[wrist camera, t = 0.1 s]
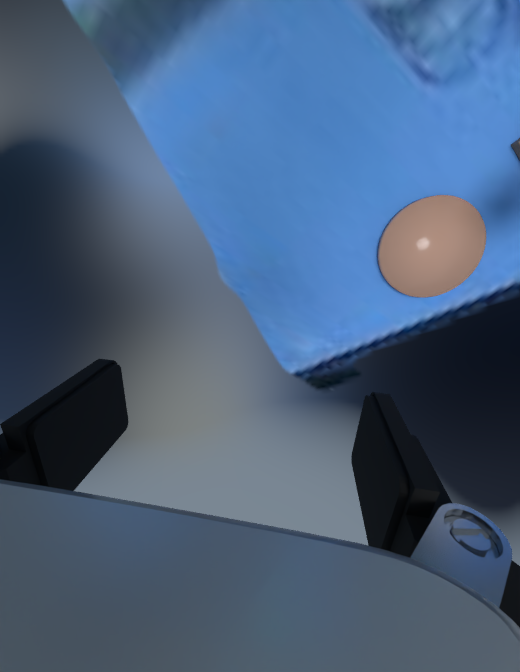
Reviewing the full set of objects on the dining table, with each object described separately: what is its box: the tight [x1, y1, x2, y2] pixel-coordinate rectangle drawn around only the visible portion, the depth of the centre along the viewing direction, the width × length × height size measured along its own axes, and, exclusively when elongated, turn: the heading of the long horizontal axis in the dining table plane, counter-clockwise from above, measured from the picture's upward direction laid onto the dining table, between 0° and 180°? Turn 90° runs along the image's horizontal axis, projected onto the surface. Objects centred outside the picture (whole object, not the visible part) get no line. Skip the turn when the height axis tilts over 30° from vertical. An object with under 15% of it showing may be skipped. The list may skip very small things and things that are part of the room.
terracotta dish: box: [378, 195, 486, 297], centre depth 35 cm, size 12×12×1 cm
